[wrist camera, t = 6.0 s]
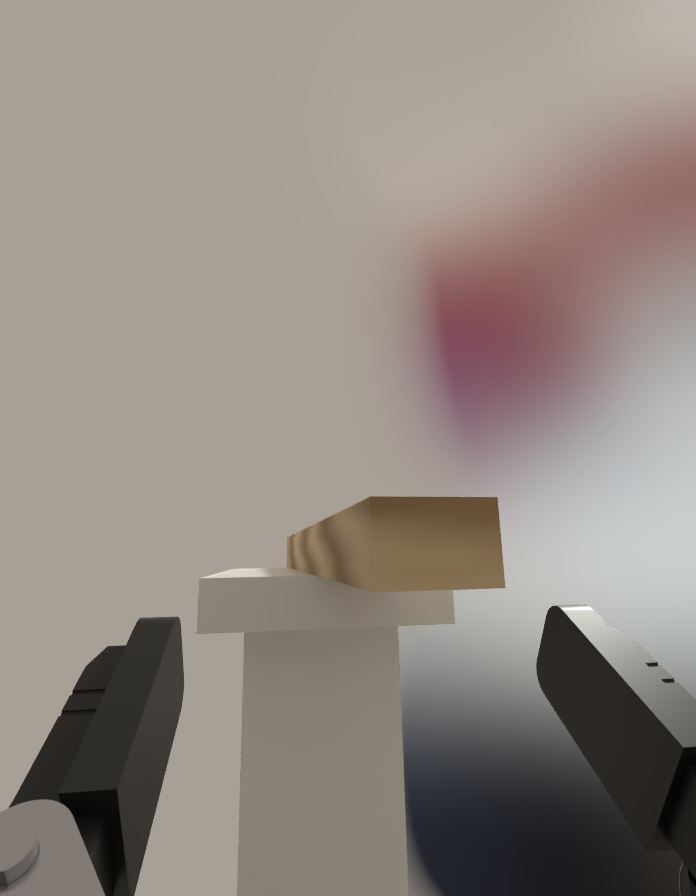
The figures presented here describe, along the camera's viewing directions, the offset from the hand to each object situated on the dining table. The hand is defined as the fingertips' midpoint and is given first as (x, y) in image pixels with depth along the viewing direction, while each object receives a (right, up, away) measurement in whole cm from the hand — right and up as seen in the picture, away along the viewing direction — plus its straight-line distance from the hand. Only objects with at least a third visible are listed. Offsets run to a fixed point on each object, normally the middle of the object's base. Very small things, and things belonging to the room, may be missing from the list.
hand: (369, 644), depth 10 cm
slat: (-1, -1, +11) cm, 12 cm away
